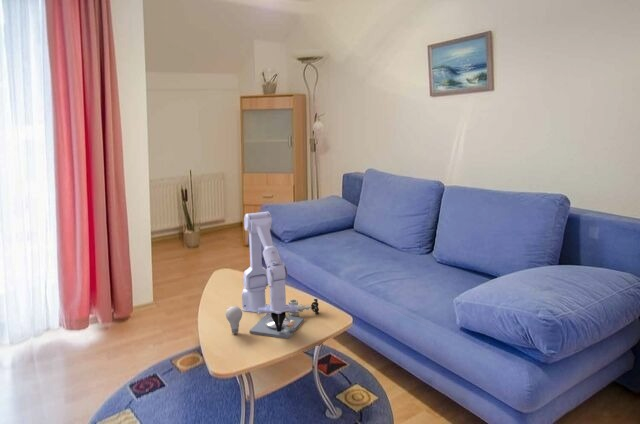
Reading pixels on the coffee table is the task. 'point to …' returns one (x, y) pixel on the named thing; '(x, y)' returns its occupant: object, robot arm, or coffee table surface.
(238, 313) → the lightbulb
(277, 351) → the coffee table surface
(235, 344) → the coffee table surface
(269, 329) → the board
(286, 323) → the silver lidded pan
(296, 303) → the valve
